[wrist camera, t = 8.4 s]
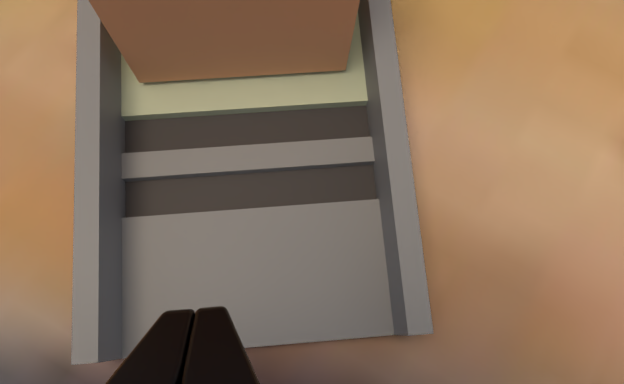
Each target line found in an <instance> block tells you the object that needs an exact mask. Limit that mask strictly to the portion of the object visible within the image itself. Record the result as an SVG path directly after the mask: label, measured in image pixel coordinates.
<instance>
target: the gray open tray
mask: <svg viewBox="0 0 624 384" xmlns="http://www.w3.org/2000/svg"><path fill="white" fill-rule="evenodd" d="M217 306H224V307H226V309H227V310H228V312H229V314H230V317H231V319H232V321H233V323H234V326H235V328H236V330H237V333H238V335H239V337H240V340H241V342H242V344H243V346H244V348H249V347H261V346H272V345H284V344H295V343H307V342H319V341H330V340H342V339H353V338H365V337H377V336H388V335H405V336H411V335H422V334H434V333H433V325H432V318H431V310H430V302H429V295H428V287H427V279H426V271H425V264H424V256H423V248H422V240H421V233H420V225H419V217H418V209H417V202H416V194H415V186H414V179H413V171H412V163H411V155H410V148H409V140H408V132H407V124H406V117H405V109H404V101H403V93H402V86H401V78H400V70H399V63H398V55H397V47H396V39H395V32H394V24H393V16H392V8H391V1H390V0H360V2H359V7H358V12H357V17H356V22H355V27H354V32H353V36H352V41H351V46H350V51H349V56H348V61H347V66H346V70H342V71H326V72H309V73H293V74H277V75H260V76H244V77H228V78H211V79H195V80H178V81H162V82H146V83H139V81H138V80H137V78H136V76H135V75H134V73H133V72H132V70H131V68H130V67H129V65H128V64H127V62H126V60H125V59H124V57H123V55H122V54H121V52H120V51H119V49H118V47H117V46H116V44H115V43H114V41H113V39H112V38H111V36H110V35H109V33H108V31H107V30H106V28H105V26H104V25H103V23H102V22H101V20H100V18H99V17H98V15H97V14H96V12H95V10H94V9H93V7H92V5H91V4H90V2H89V1H88V0H78V5H77V63H76V121H75V180H74V238H73V296H72V355H71V365H76V364H87V363H98V362H104V361H110V360H116V359H122V358H127V356H128V355H129V354H130V353H131V351H132V350H133V349H134V348H135V346H136V345H137V344H138V343H139V341H140V340H141V339H142V338H143V337H144V335H145V334H146V333H147V332H148V330H149V329H150V328H151V327H152V325H153V324H154V323H155V322H156V320H157V319H158V318H159V317H160V315H161V314H162V313H164V312H165V311H169V310H180V309H192V310H194V311H195V312H196V311H197V310H198V309H199V308H205V307H217Z"/></svg>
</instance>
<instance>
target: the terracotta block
mask: <svg viewBox="0 0 624 384" xmlns="http://www.w3.org/2000/svg"><path fill="white" fill-rule="evenodd" d="M88 1H89V2H90V4H91V5H92V7H93V9H94V10H95V12H96V14H97V15H98V17H99V18H100V20H101V22H102V23H103V25H104V26H105V28H106V30H107V31H108V33H109V35H110V36H111V38H112V39H113V41H114V43H115V44H116V46H117V47H118V49H119V51H120V52H121V54H122V55H123V57H124V59H125V60H126V62H127V64H128V65H129V67H130V68H131V70H132V72H133V73H134V75H135V76H136V78H137V80H138V81H139V83H146V82H162V81H178V80H195V79H211V78H228V77H244V76H260V75H277V74H293V73H309V72H326V71H342V70H346V66H347V61H348V56H349V51H350V46H351V41H352V36H353V32H354V27H355V22H356V17H357V12H358V7H359V2H360V0H88Z"/></svg>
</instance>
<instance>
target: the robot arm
mask: <svg viewBox="0 0 624 384" xmlns="http://www.w3.org/2000/svg"><path fill="white" fill-rule="evenodd" d="M106 384H260V383H259V381H258V378H257V376H256V374H255V372H254V369H253V367H252V365H251V362H250V360H249V358H248V356H247V353H246V351H245V349H244V346H243V344H242V342H241V340H240V337H239V335H238V333H237V330H236V328H235V326H234V323H233V321H232V319H231V317H230V314H229V312H228V310H227V309H226V307H224V306H217V307H205V308H199V309H198V310H197V311H196V312H195V311H194V310H192V309H180V310H169V311H165V312H164V313H162V314H161V315H160V317H159V318H158V319H157V320H156V322H155V323H154V324H153V325H152V327H151V328H150V329H149V330H148V332H147V333H146V334H145V335H144V337H143V338H142V339H141V340H140V341H139V343H138V344H137V345H136V346H135V348H134V349H133V350H132V351H131V353H130V354H129V355H128V356H127V358H126V359H125V360H124V361H123V363H122V364H121V365H120V366H119V368H118V369H117V370H116V371H115V373H114V374H113V375H112V376H111V377H110V379H109V380H108V381H107V382H106Z"/></svg>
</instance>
